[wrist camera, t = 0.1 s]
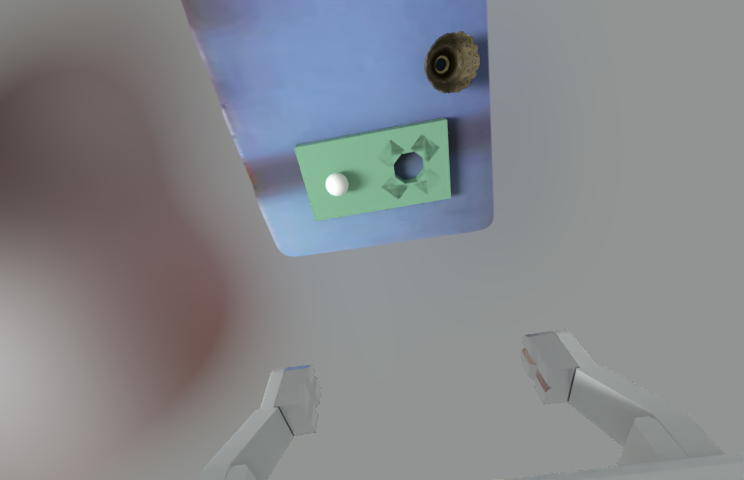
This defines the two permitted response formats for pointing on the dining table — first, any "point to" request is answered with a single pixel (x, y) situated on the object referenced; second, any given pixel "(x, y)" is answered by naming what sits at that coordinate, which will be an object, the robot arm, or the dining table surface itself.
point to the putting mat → (376, 169)
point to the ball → (337, 184)
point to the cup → (452, 62)
